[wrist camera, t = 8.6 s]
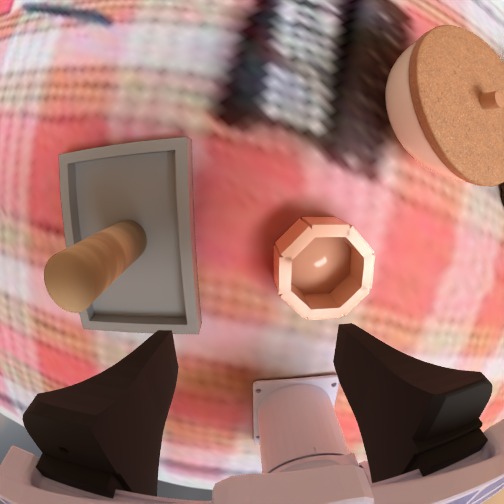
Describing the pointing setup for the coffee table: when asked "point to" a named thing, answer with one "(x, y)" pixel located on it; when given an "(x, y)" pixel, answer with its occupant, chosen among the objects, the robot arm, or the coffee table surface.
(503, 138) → the lidded jar
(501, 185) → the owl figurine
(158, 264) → the tray
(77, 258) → the dowel
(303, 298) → the cup
